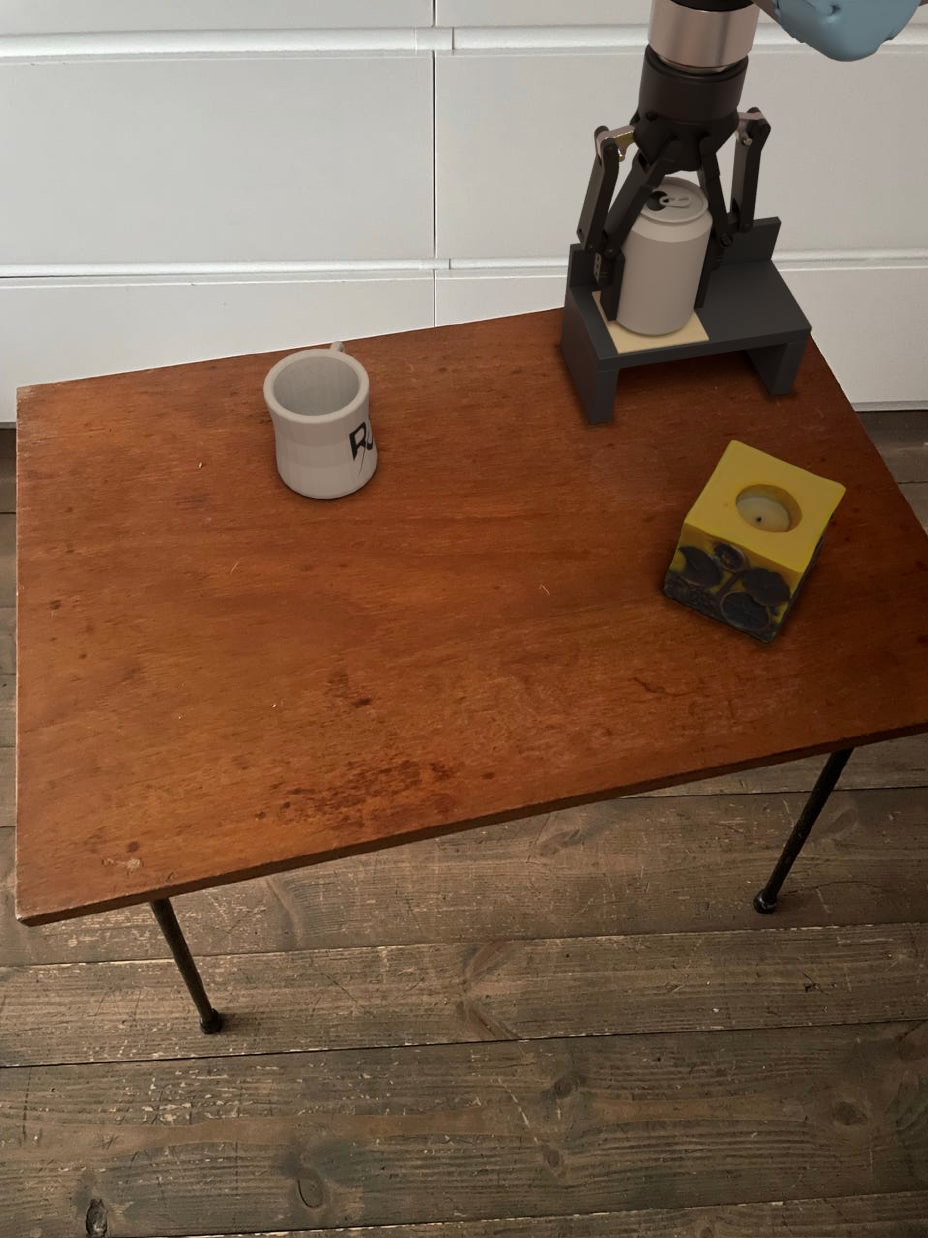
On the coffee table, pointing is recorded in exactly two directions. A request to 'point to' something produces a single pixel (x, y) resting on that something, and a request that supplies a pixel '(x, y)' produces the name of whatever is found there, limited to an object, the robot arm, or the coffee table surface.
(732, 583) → the candle
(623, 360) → the shelf
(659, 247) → the can
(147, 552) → the coffee table surface
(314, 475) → the mug
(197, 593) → the coffee table surface
